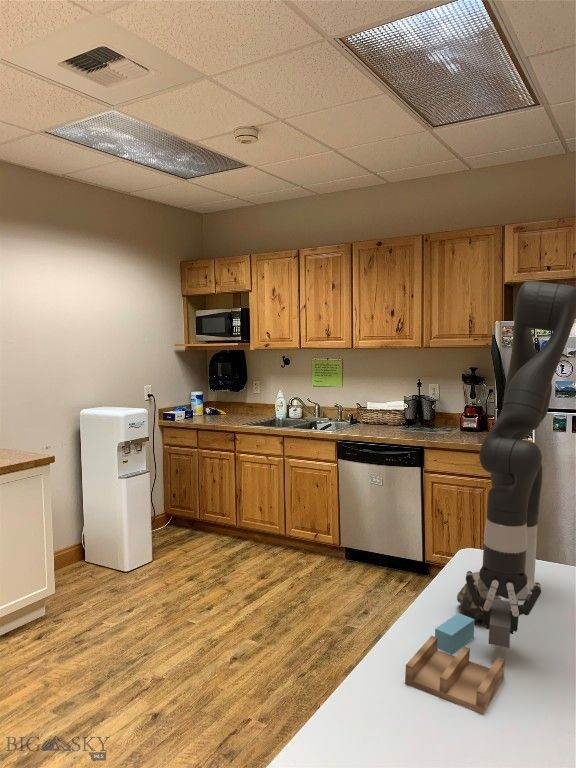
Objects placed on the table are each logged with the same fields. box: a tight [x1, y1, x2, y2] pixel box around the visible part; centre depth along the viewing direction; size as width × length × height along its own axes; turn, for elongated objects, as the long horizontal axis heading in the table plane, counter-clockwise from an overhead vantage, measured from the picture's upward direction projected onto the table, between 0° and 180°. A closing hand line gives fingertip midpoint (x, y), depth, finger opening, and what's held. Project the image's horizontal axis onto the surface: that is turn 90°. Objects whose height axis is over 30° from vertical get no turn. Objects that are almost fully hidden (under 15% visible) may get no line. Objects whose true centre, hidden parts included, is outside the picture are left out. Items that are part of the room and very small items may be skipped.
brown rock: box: [456, 578, 502, 621], centre depth 126 cm, size 11×9×10 cm
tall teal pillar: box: [434, 612, 476, 655], centre depth 116 cm, size 9×4×4 cm, turn 135°
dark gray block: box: [488, 599, 512, 649], centre depth 111 cm, size 9×4×4 cm, turn 158°
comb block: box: [404, 635, 505, 715], centre depth 103 cm, size 12×14×4 cm
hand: (499, 629), depth 111 cm, fingers closed on dark gray block, 3 cm apart
